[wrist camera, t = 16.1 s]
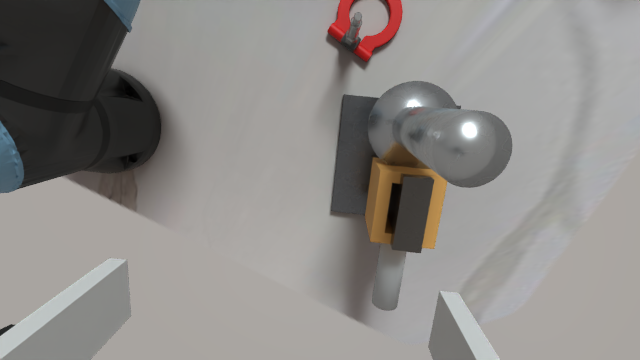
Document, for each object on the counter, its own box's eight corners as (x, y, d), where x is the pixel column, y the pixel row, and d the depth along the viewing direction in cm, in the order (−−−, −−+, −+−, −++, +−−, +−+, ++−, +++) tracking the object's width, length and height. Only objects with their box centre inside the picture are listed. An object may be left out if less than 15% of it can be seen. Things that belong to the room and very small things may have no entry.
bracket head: (356, 282, 46) (359, 319, 38) (372, 157, 42) (380, 170, 34) (405, 288, 46) (418, 326, 38) (427, 163, 42) (448, 177, 34)
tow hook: (363, -33, 43) (321, 29, 44) (377, -94, 30) (318, -4, 32) (413, 8, 43) (370, 67, 45) (448, -35, 31) (386, 50, 32)
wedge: (377, 208, 48) (392, 249, 35) (385, 154, 46) (404, 176, 33) (398, 210, 48) (420, 253, 34) (407, 156, 46) (434, 179, 32)
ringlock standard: (331, 208, 50) (322, 327, 24) (345, 79, 46) (352, 52, 19) (436, 220, 50) (544, 354, 23) (461, 91, 45) (630, 78, 19)
